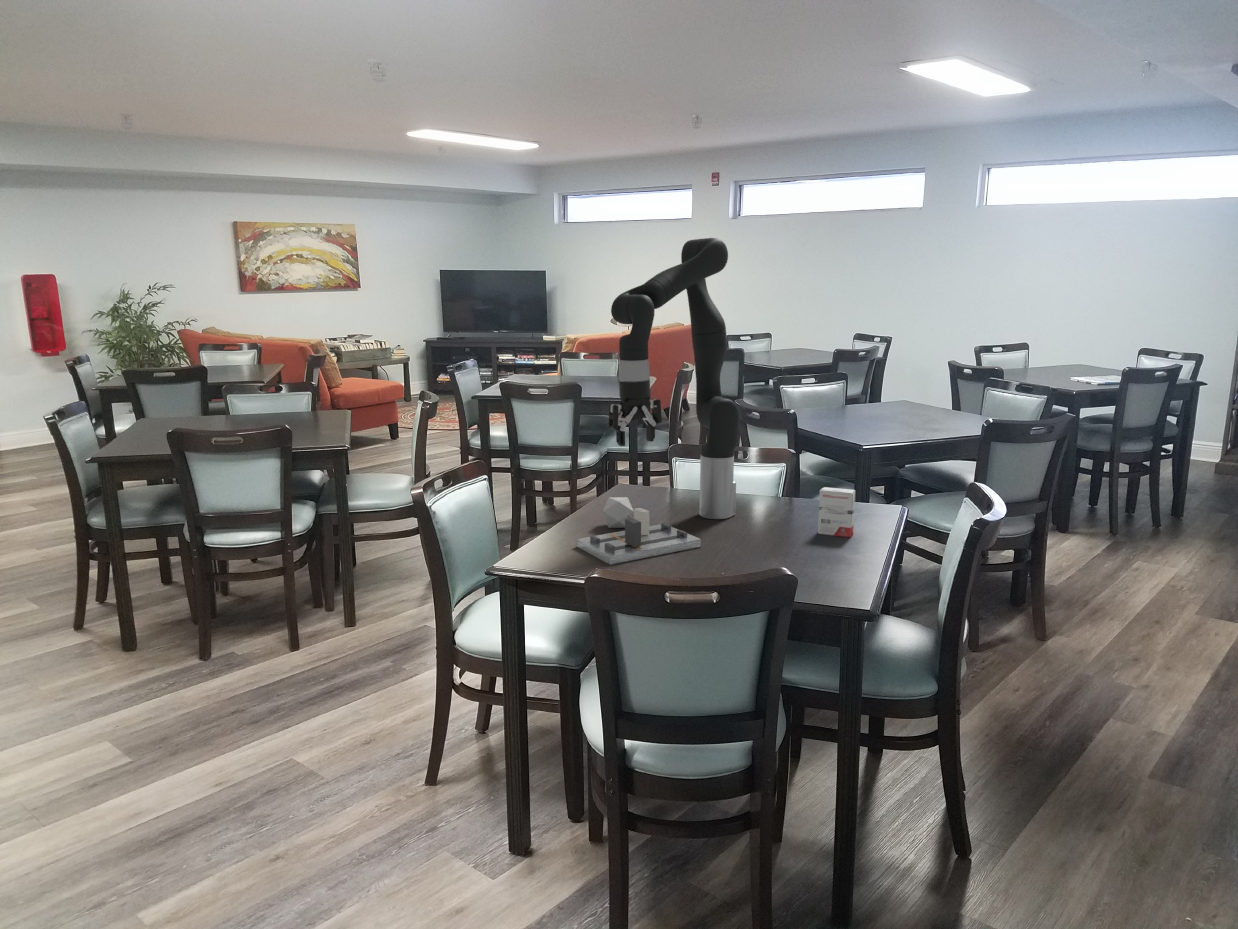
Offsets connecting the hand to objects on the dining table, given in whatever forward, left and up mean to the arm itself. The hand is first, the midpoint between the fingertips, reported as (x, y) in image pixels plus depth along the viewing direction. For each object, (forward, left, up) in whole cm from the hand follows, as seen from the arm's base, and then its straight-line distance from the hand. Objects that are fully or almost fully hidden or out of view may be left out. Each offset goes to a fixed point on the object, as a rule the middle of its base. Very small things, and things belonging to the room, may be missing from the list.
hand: (635, 443), depth 209 cm
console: (+2, +5, -25) cm, 26 cm away
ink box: (-48, +22, -25) cm, 58 cm away
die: (-3, -13, -25) cm, 28 cm away
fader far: (-1, +2, -23) cm, 23 cm away
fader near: (+6, +9, -23) cm, 25 cm away
